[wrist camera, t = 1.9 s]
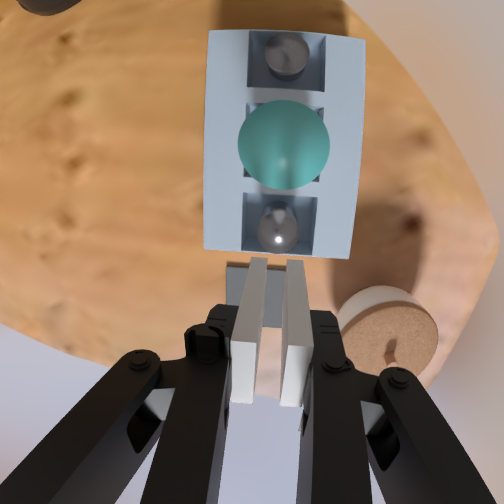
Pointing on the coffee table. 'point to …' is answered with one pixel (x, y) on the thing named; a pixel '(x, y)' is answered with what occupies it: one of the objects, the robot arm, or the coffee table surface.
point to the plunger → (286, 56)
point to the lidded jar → (387, 330)
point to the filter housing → (270, 89)
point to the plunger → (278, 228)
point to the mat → (272, 292)
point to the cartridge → (283, 144)
